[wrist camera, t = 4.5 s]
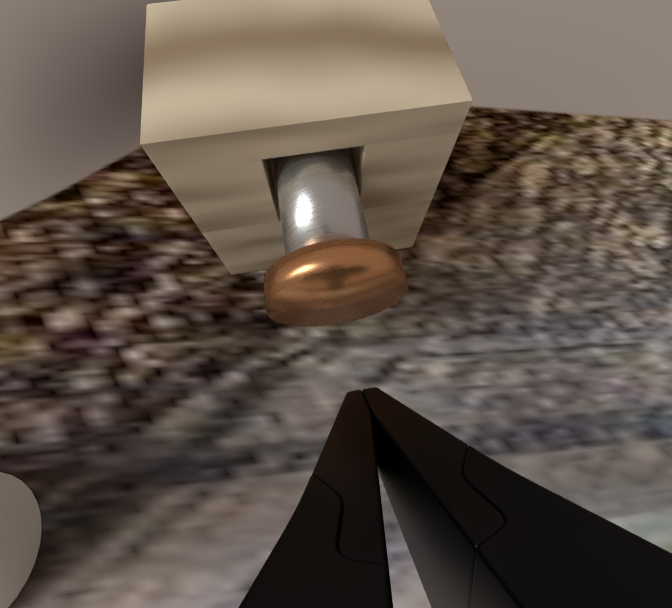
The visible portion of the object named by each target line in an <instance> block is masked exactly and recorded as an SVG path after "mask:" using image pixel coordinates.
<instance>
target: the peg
mask: <svg viewBox="0 0 672 608" xmlns="http://www.w3.org/2000/svg"><path fill="white" fill-rule="evenodd" d="M273 163H274V171H275V178H276V186H277V194H278V201H279V209H280V216H281V224H282V231H283V239H284V246H285V254H286V255H285V256H283V257H282V258H280V259H279V260H277V261H276V262H275V263H274V264H272V265H271V266H270V268H269V269H268V270H267V272H266V273H265V276H264V292H265V301H266V311H267V314H268V315H269V317H270V318H272V319H273V320H275V321H277V322H280V323H283V324H287V325H293V326H308V327H309V326H326V325H334V324H341V323H346V322H350V321H355V320H358V319H362V318H365V317H368V316H371V315H374V314H376V313H379V312H381V311H383V310H385V309H387V308H389V307H391V306H393V305H394V304H396V303H397V302H398V301H400V300H401V299H402V298H403V297H404V296H405V294H406V293H407V290H408V283H407V280H406V276H405V272H404V269H403V265H402V261H401V257H400V255H399V253H398V252H397V250H396V249H394V248H393V247H392V246H390V245H388V244H386V243H383V242H380V241H376V240H370V238H369V234H368V229H367V225H366V221H365V217H364V213H363V208H362V204H361V200H360V196H359V192H358V187H357V183H356V179H355V175H354V171H353V166H352V162H351V158H350V154H349V150H348V148H342V149H335V150H327V151H320V152H313V153H306V154H298V155H291V156H284V157H276V158H273Z"/></svg>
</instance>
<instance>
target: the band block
mask: <svg viewBox="0 0 672 608" xmlns="http://www.w3.org/2000/svg"><path fill="white" fill-rule="evenodd" d="M143 77H144V78H143V96H142V117H141V139H140V145H141V146H142V148H143V149H144V151H145V152H146V153H147V155H148V156H149V158H150V159H151V161H152V162H153V163H154V165H155V166H156V168H157V169H158V171H159V172H160V173H161V175H162V176H163V178H164V179H165V181H166V182H167V183H168V185H169V186H170V188H171V189H172V191H173V192H174V193H175V195H176V196H177V198H178V199H179V200H180V202H181V203H182V205H183V206H184V208H185V209H186V210H187V212H188V213H189V215H190V216H191V218H192V219H193V220H194V222H195V223H196V225H197V226H198V228H199V229H200V230H201V232H202V233H203V235H204V236H205V238H206V239H207V240H208V242H209V243H210V245H211V246H212V248H213V249H214V250H215V252H216V253H217V255H218V256H219V258H220V259H221V260H222V262H223V263H224V265H225V266H226V268H227V269H228V270H229V272H230V273H231V275H234V274H240V273H247V272H253V271H259V270H266V269H269V268H270V266H271V265H272V264H274V263H275V262H276V261H277V260H279V259H280V258H282V257H283V256H285V255H286V254H285V246H284V239H283V231H282V224H281V216H280V209H279V201H278V194H277V186H276V178H275V171H274V163H273V158H276V157H284V156H291V155H298V154H306V153H313V152H320V151H327V150H335V149H342V148H348V150H349V154H350V158H351V162H352V166H353V171H354V175H355V179H356V183H357V187H358V192H359V196H360V200H361V204H362V208H363V213H364V217H365V221H366V225H367V229H368V234H369V238H370V240H376V241H380V242H383V243H386V244H388V245H390V246H392V247H393V248H394V249H402V248H408V247H413V244H414V242H415V239H416V237H417V234H418V232H419V230H420V227H421V225H422V222H423V220H424V217H425V215H426V213H427V210H428V208H429V205H430V203H431V200H432V198H433V196H434V193H435V191H436V188H437V186H438V183H439V181H440V179H441V176H442V174H443V171H444V169H445V166H446V164H447V162H448V159H449V157H450V154H451V152H452V149H453V147H454V145H455V142H456V140H457V137H458V135H459V132H460V130H461V128H462V125H463V123H464V120H465V118H466V115H467V113H468V111H469V108H470V106H471V103H472V98H471V96H470V93H469V91H468V89H467V87H466V84H465V82H464V80H463V77H462V75H461V73H460V71H459V68H458V66H457V64H456V62H455V59H454V57H453V55H452V52H451V50H450V48H449V45H448V43H447V41H446V39H445V36H444V34H443V32H442V30H441V27H440V25H439V23H438V20H437V18H436V16H435V13H434V11H433V9H432V7H431V4H430V2H429V0H181V1H171V2H162V3H153V4H147V14H146V36H145V56H144V76H143Z"/></svg>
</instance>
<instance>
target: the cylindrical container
mask: <svg viewBox="0 0 672 608" xmlns="http://www.w3.org/2000/svg"><path fill="white" fill-rule="evenodd" d="M41 530H42V525H41V513H40V510H39V506H38V503H37V500H36V498H35V496H34V495H33V493H32V491H31V490H30V489H29V488H28V486H27V485H26V484H25V483H24V482H23V481H21V480H20V479H18V478H16V477H14V476H13V475H10V474H6V473H2V472H0V608H8V607H9V606H10V605H11V604H12V603H13V601H14V600H15V599H16V598H17V596H18V595H19V593H20V591H21V590H22V588H23V587H24V585H25V583H26V582H27V580H28V578H29V576H30V573H31V571H32V569H33V566H34V564H35V562H36V558H37V554H38V550H39V547H40V541H41Z"/></svg>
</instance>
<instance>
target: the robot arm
mask: <svg viewBox="0 0 672 608" xmlns="http://www.w3.org/2000/svg"><path fill="white" fill-rule="evenodd" d="M378 471H379V474H380V476H381V479H382V481H383V484H384V487H385V489H386V492H387V494H388V497H389V499H390V502H391V505H392V507H393V510H394V512H395V515H396V517H397V520H398V523H399V525H400V528H401V530H402V533H403V536H404V538H405V541H406V543H407V546H408V548H409V551H410V554H411V556H412V559H413V561H414V564H415V566H416V569H417V572H418V574H419V577H420V579H421V582H422V584H423V587H424V590H425V592H426V595H427V597H428V600H429V602H430V605H431V608H672V553H670V552H668V551H666V550H664V549H662V548H660V547H658V546H656V545H654V544H652V543H650V542H649V541H647V540H645V539H643V538H641V537H639V536H637V535H635V534H633V533H631V532H629V531H627V530H625V529H623V528H621V527H619V526H617V525H616V524H614V523H612V522H610V521H608V520H606V519H604V518H602V517H600V516H598V515H596V514H594V513H592V512H590V511H588V510H586V509H584V508H583V507H581V506H579V505H577V504H575V503H573V502H571V501H569V500H567V499H565V498H563V497H561V496H559V495H557V494H555V493H553V492H551V491H549V490H548V489H546V488H544V487H542V486H540V485H538V484H536V483H534V482H532V481H530V480H528V479H526V478H525V477H523V476H521V475H519V474H517V473H515V472H513V471H512V470H510V469H508V468H506V467H504V466H503V465H501V464H499V463H498V462H496V461H494V460H493V459H491V458H489V457H487V456H486V455H484V454H482V453H481V452H479V451H478V450H476V449H475V448H473V447H471V446H468V445H467V444H466V443H464V442H462V441H461V440H459V439H458V438H456V437H454V436H453V435H451V434H450V433H448V432H447V431H445V430H443V429H442V428H440V427H439V426H437V425H435V424H434V423H432V422H431V421H429V420H428V419H426V418H424V417H423V416H421V415H420V414H418V413H416V412H415V411H413V410H412V409H410V408H408V407H407V406H405V405H404V404H402V403H401V402H399V401H397V400H396V399H394V398H393V397H391V396H389V395H388V394H386V393H385V392H383V391H381V390H380V389H378V388H376V387H373V388H368V389H363V391H361V390H356V391H350V392H348V393H347V394H346V396H345V399H344V401H343V403H342V406H341V408H340V410H339V413H338V415H337V417H336V420H335V422H334V424H333V427H332V429H331V431H330V434H329V436H328V438H327V441H326V443H325V445H324V448H323V450H322V452H321V455H320V457H319V460H318V462H317V464H316V467H315V469H314V471H313V474H312V476H311V477H310V480H309V482H308V484H307V487H306V489H305V491H304V493H303V495H302V497H301V500H300V502H299V504H298V506H297V508H296V510H295V512H294V514H293V515H292V517H291V519H290V521H289V523H288V524H287V526H286V528H285V530H284V532H283V533H282V535H281V537H280V538H279V540H278V542H277V543H276V545H275V547H274V548H273V550H272V552H271V554H270V555H269V557H268V559H267V560H266V562H265V564H264V565H263V567H262V569H261V571H260V572H259V574H258V576H257V577H256V579H255V581H254V582H253V584H252V586H251V587H250V589H249V591H248V593H247V594H246V596H245V598H244V599H243V601H242V603H241V604H240V606H239V608H393V602H392V593H391V584H390V575H389V567H388V558H387V549H386V540H385V531H384V522H383V513H382V504H381V495H380V486H379V477H378Z"/></svg>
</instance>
